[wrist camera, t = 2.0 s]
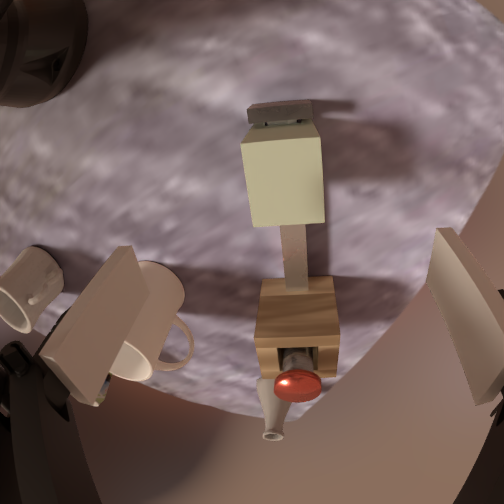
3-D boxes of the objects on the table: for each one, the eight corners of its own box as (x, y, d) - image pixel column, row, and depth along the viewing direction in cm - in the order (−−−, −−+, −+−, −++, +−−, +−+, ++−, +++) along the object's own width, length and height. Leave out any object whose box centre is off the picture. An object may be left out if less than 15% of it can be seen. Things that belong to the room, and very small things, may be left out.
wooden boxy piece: (262, 279, 36) (253, 337, 28) (333, 275, 34) (342, 334, 27) (268, 321, 39) (262, 379, 32) (332, 319, 38) (337, 376, 30)
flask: (264, 367, 45) (257, 424, 37) (307, 377, 46) (306, 432, 37) (250, 388, 49) (242, 440, 41) (289, 397, 50) (286, 448, 41)
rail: (252, 104, 25) (246, 109, 22) (308, 99, 24) (312, 103, 21) (275, 278, 35) (273, 301, 32) (319, 276, 34) (321, 299, 31)
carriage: (254, 123, 26) (240, 143, 19) (310, 118, 25) (320, 137, 18) (263, 184, 29) (253, 227, 22) (315, 181, 28) (324, 222, 21)
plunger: (276, 322, 31) (271, 379, 25) (319, 321, 30) (322, 377, 25) (279, 349, 33) (275, 402, 28) (318, 348, 33) (320, 401, 27)
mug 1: (44, 294, 43) (13, 334, 35) (16, 250, 39) (-21, 287, 30) (89, 285, 40) (55, 334, 32) (58, 232, 36) (14, 276, 27)
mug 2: (219, 299, 38) (196, 378, 28) (188, 332, 42) (164, 403, 32) (137, 248, 35) (89, 317, 25) (117, 288, 40) (77, 353, 30)
